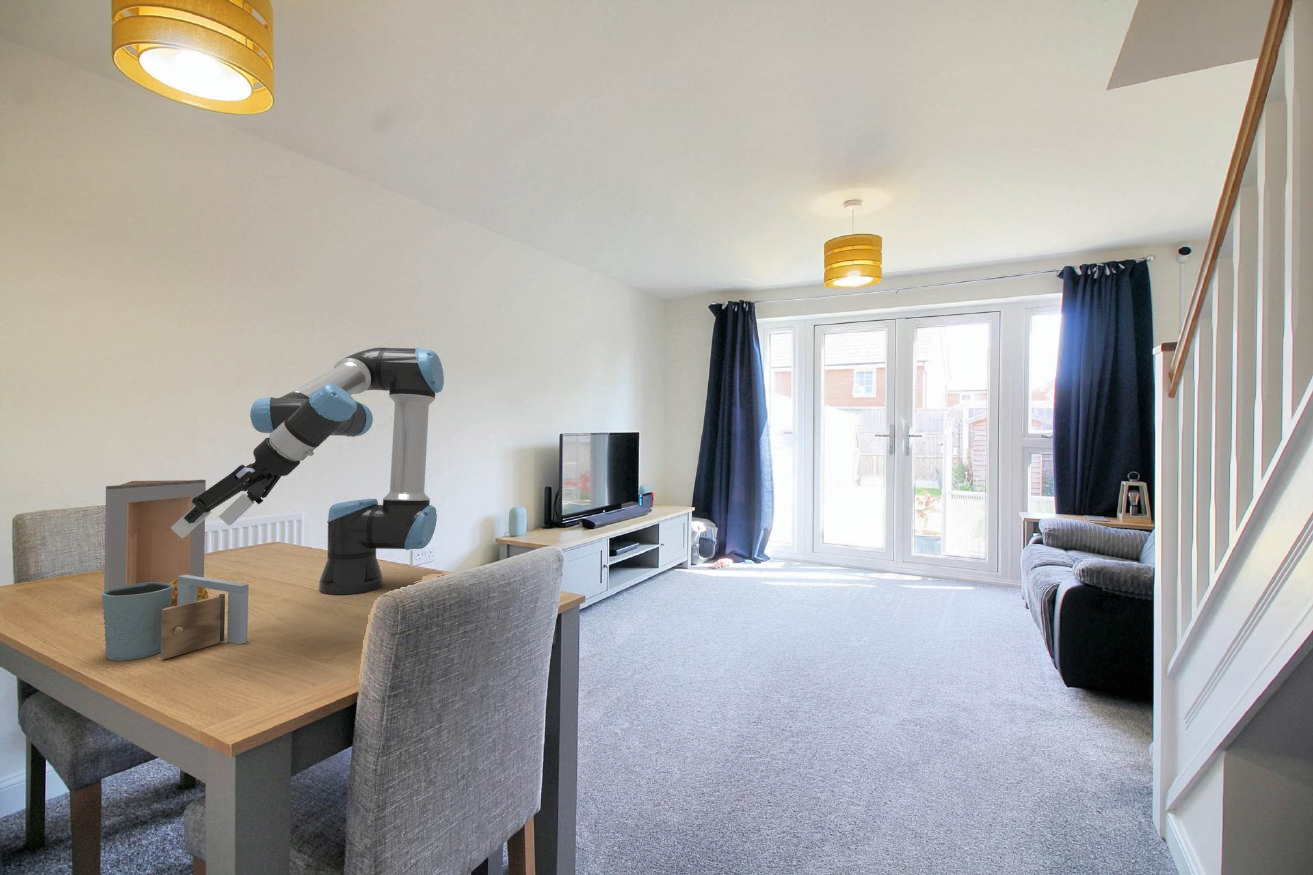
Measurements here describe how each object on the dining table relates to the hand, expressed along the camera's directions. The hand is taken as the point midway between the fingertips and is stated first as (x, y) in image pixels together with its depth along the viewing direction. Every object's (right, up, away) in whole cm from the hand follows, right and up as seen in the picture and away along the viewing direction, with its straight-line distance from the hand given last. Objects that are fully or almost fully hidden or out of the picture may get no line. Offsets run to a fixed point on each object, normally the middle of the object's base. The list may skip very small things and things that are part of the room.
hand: (202, 526), depth 115 cm
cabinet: (-39, -22, +33) cm, 55 cm away
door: (0, -23, -2) cm, 23 cm away
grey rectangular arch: (-3, -23, +6) cm, 24 cm away
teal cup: (-10, -23, -2) cm, 26 cm away
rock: (-21, -23, +20) cm, 37 cm away
